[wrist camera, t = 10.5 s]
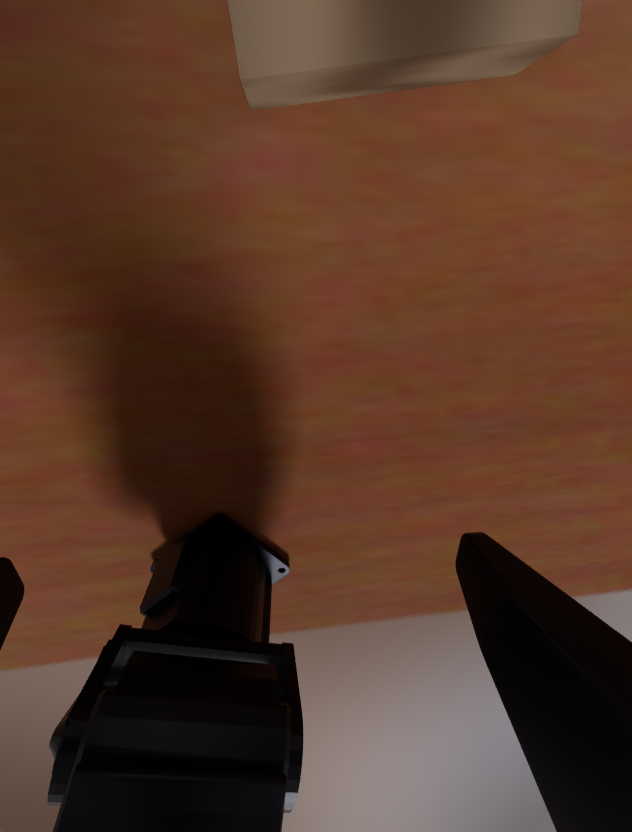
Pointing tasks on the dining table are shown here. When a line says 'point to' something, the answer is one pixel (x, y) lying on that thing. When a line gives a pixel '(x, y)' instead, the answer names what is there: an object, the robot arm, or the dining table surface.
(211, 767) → the robot arm
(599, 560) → the dining table surface
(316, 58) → the beige block
